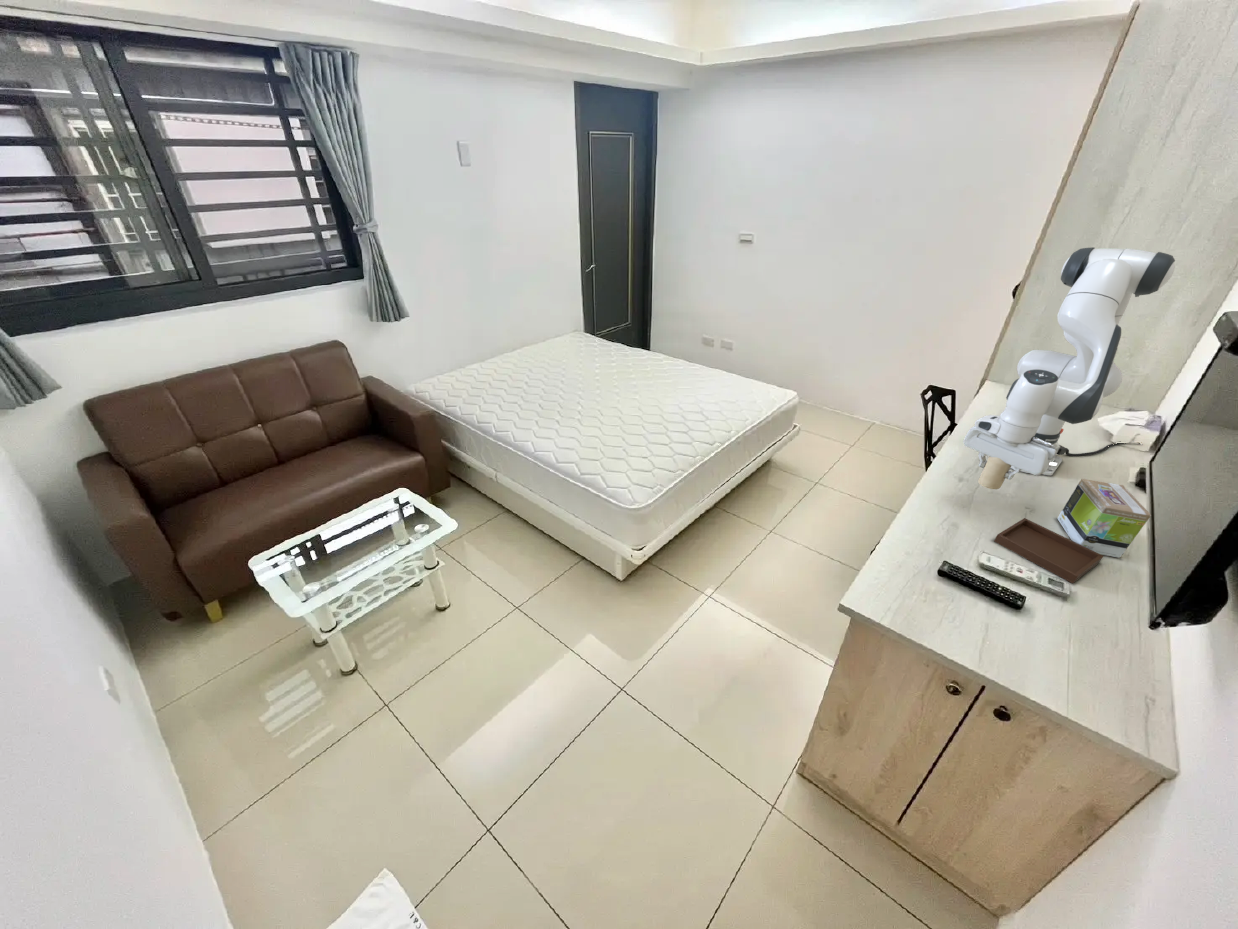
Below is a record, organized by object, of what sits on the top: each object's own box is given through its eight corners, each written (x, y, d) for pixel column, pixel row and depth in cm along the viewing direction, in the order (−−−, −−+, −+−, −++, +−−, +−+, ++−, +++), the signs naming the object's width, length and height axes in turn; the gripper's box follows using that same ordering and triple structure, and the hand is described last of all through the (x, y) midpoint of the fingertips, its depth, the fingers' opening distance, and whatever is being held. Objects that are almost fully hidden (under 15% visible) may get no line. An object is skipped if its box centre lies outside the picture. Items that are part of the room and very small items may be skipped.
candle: (980, 476, 144) (994, 447, 138) (1002, 484, 140) (1017, 454, 135) (975, 484, 140) (989, 455, 135) (997, 492, 137) (1012, 462, 132)
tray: (1020, 524, 141) (1024, 517, 140) (1098, 563, 128) (1103, 556, 126) (993, 541, 135) (997, 534, 134) (1072, 583, 122) (1077, 576, 120)
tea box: (1121, 559, 129) (1153, 515, 121) (1075, 550, 132) (1104, 507, 124) (1096, 525, 141) (1124, 483, 133) (1055, 518, 144) (1080, 477, 136)
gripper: (1065, 443, 124) (1041, 486, 132) (982, 413, 139) (965, 453, 147) (1053, 449, 122) (1029, 493, 129) (970, 418, 137) (952, 459, 144)
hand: (994, 472), depth 138 cm, fingers closed on candle, 5 cm apart
